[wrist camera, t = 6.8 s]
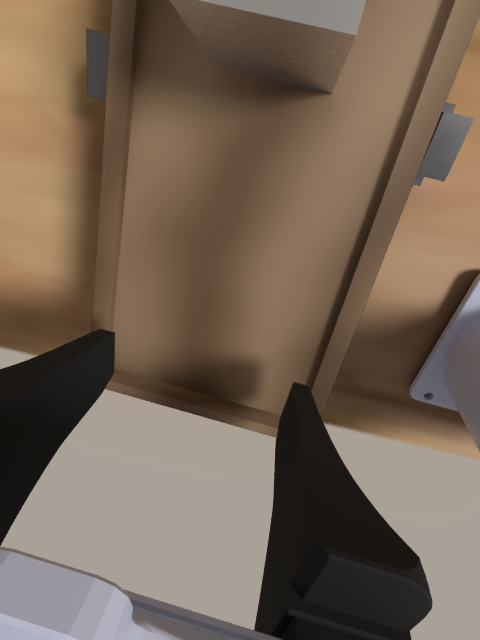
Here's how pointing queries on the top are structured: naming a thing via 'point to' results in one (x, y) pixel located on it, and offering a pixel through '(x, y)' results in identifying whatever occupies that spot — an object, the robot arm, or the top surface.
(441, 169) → the beam stand
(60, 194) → the top surface
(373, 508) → the robot arm
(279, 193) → the balance beam
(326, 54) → the block
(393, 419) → the top surface
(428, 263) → the top surface
